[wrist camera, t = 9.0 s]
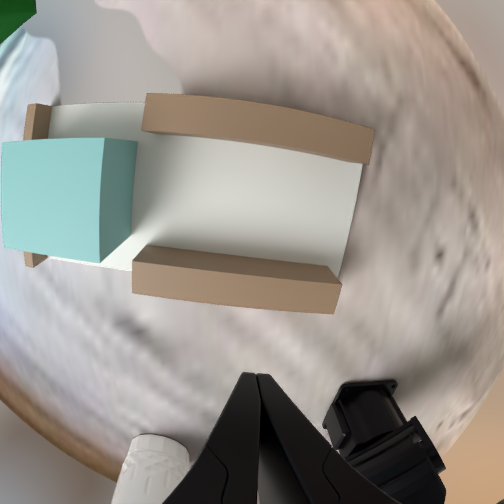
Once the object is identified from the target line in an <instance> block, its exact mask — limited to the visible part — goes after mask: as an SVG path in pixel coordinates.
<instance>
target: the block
mask: <svg viewBox="0 0 504 504" xmlns="http://www.w3.org/2000/svg"><path fill="white" fill-rule="evenodd" d="M137 144H138V141H131V140H122V139H112V138H59V139H39V140H25V141H14V142H4V143H2V156H1V220H2V233H3V244H4V248H9V249H15V250H20V251H26V252H31V253H37V254H43V255H49V256H55V257H61V258H67V259H73V260H80V261H86V262H93V263H99V264H100V263H101V262H102V261H103V260H104V259H105V258H106V257H108V256H109V255H110V254H111V253H112V252H113V251H114V250H115V249H116V248H117V247H119V246H120V245H121V244H122V243H123V242H124V241H125V240H127V239H128V238H129V237H130V236H131V216H132V198H133V184H134V172H135V162H136V153H137Z"/></svg>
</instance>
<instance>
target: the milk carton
mask: <svg viewBox="0 0 504 504" xmlns="http://www.w3.org/2000/svg"><path fill="white" fill-rule="evenodd" d="M35 14H36V1H35V0H0V44H1V43H2V42H3V41H4V40H5V39H6V38H7V37H8V36H9V35H11V34H12V33H13V32H14V31H15V30H16V29H17V28H19V27H20V26H21V25H22V24H23V23H24V22H26V21H27V20H28V19H29V18H31V17H32V16H33V15H35Z"/></svg>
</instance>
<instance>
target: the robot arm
mask: <svg viewBox="0 0 504 504" xmlns="http://www.w3.org/2000/svg"><path fill="white" fill-rule="evenodd" d="M397 385H398V383H397V382H396V381H395V380H391V381H380V382H368V383H353V384H344V385H342V386H341V387H340V388H339V390H338V392H337V395H336V397H335V399H334V401H333V403H332V404H331V406H330V408H329V410H328V412H327V414H326V416H325V418H324V422H323V423H322V426H323V428H324V429H327V430H328V433H329V436H330V439H331V442H332V445H333V447H332V446H331V444H330V443H329V442H328V441H327V440H326V439H325V438H324V437H323V436H322V435H321V433H320V432H319V431H318V430H317V429H316V428H315V427H314V426H313V425H312V423H311V422H310V421H309V420H308V419H307V418H306V417H305V415H304V414H303V413H302V412H301V411H300V410H299V409H298V407H297V406H296V405H295V404H294V403H293V402H292V400H291V399H290V398H289V397H288V396H287V394H286V393H285V392H284V391H283V390H282V389H281V387H280V386H279V385H278V384H277V382H276V381H275V380H274V379H273V378H272V376H271V375H269V374H261V373H257V374H255V373H249V372H243V373H242V374H241V375H240V377H239V379H238V381H237V383H236V385H235V387H234V389H233V391H232V393H231V395H230V397H229V399H228V401H227V403H226V405H225V407H224V409H223V411H222V413H221V415H220V417H219V419H218V421H217V422H216V424H215V426H214V428H213V430H212V432H211V434H210V436H209V438H208V439H207V441H206V443H205V446H204V447H203V448H202V450H201V452H200V454H199V456H198V457H197V459H196V460H195V462H194V464H193V465H192V467H191V469H190V470H189V471H188V473H187V474H186V475H185V477H184V478H183V479H182V481H181V482H180V483H179V484H178V485H177V487H176V488H175V489H174V490H173V491H172V492H171V494H170V495H169V496H168V497H167V498H166V499H165V500H164V502H163V503H162V504H257V490H258V494H259V501H260V504H444V502H445V496H446V488H445V486H444V485H443V483H442V481H441V479H440V477H439V475H438V474H439V473H441V472H442V471H444V470H445V469H446V467H445V465H444V463H443V461H442V459H441V457H440V455H439V454H438V452H437V450H436V448H435V446H434V445H433V443H432V441H431V440H430V438H429V437H428V435H427V433H426V432H425V430H424V428H423V427H422V425H421V424H420V422H419V421H418V419H417V417H416V416H414V417H412V418H411V420H410V421H408V422H407V421H406V419H405V417H404V415H403V414H402V412H401V410H400V408H399V407H398V405H397V403H396V402H395V400H394V398H393V396H392V394H393V393H394V391H395V389H396V387H397ZM420 440H421V441H420ZM419 441H420V442H419ZM331 447H332V448H331ZM336 450H339V452H340V454H339V453H338V452H337V451H336ZM497 504H504V499H503V500H501V501H500V502H498V503H497Z"/></svg>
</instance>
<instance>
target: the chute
mask: <svg viewBox="0 0 504 504" xmlns="http://www.w3.org/2000/svg"><path fill="white" fill-rule="evenodd" d="M373 137H374V129H371V128H368V127H364V126H361V125H358V124H354V123H350V122H347V121H343V120H339V119H335V118H332V117H328V116H323V115H319V114H315V113H310V112H306V111H301V110H296V109H292V108H286V107H281V106H276V105H270V104H264V103H258V102H251V101H244V100H236V99H228V98H219V97H209V96H198V95H183V94H161V93H147V96H146V101H145V102H107V103H85V104H71V105H60V106H48V105H42V104H37V103H36V104H30V105H28V108H27V114H26V121H25V129H24V138H23V141H25V140H39V139H59V138H112V139H122V140H131V141H138V144H137V153H136V162H135V172H134V184H133V198H132V216H131V236H130V237H129V238H128V239H127V240H125V241H124V242H123V243H122V244H121V245H120V246H119V247H117V248H116V249H115V250H114V251H113V252H112V253H111V254H110V255H109V256H108V257H106V258H105V259H104V260H103V261H102V262H101V263H100V264H99V263H93V262H86V261H80V260H73V259H67V258H61V257H55V256H49V255H43V254H37V253H31V252H26V251H24V257H25V265H26V266H27V267H32V268H34V267H35V266H37V265H38V264H39V263H41V262H42V261H44V260H45V259H47V258H51V259H56V260H62V261H68V262H74V263H81V264H87V265H93V266H100V267H106V268H113V269H120V270H127V271H132V293H135V294H141V295H148V296H155V297H162V298H169V299H176V300H184V301H192V302H200V303H209V304H217V305H226V306H236V307H246V308H256V309H267V310H279V311H292V312H305V313H321V314H334V312H335V308H336V305H337V302H338V298H339V295H340V291H341V288H342V284H341V282H340V281H339V280H338V276H339V272H340V268H341V264H342V260H343V256H344V252H345V248H346V244H347V239H348V235H349V231H350V226H351V222H352V217H353V212H354V207H355V203H356V198H357V192H358V187H359V182H360V176H361V171H362V165H363V164H368V165H369V163H370V157H371V150H372V144H373Z"/></svg>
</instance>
